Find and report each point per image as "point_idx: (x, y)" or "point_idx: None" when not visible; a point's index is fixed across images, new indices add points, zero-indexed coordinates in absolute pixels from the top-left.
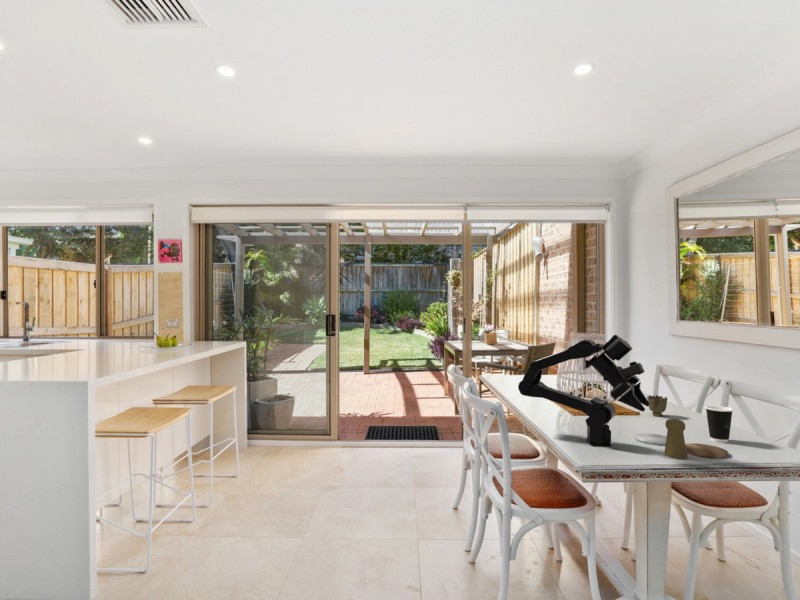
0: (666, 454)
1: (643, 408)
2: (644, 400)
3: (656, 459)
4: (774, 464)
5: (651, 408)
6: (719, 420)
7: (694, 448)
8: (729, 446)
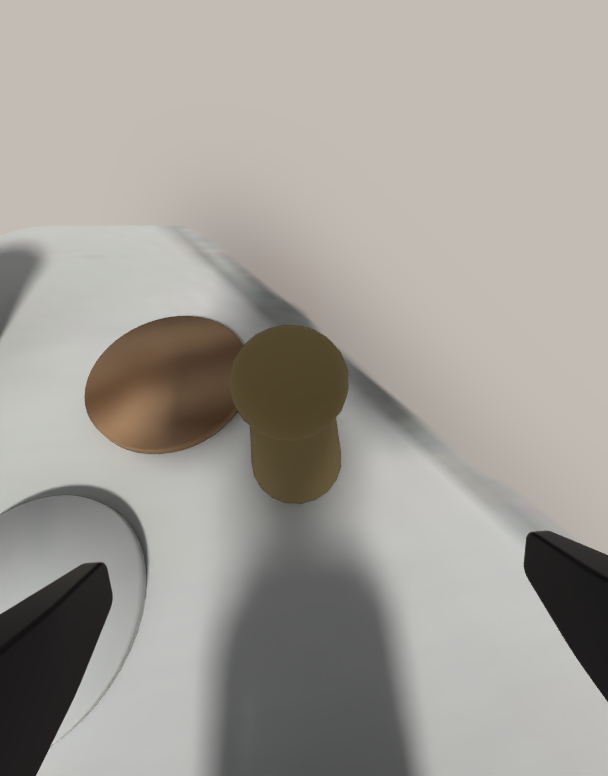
0: (329, 486)
1: (572, 549)
2: (40, 661)
3: (415, 516)
4: (209, 248)
5: None
6: None
7: (179, 401)
8: (44, 330)
